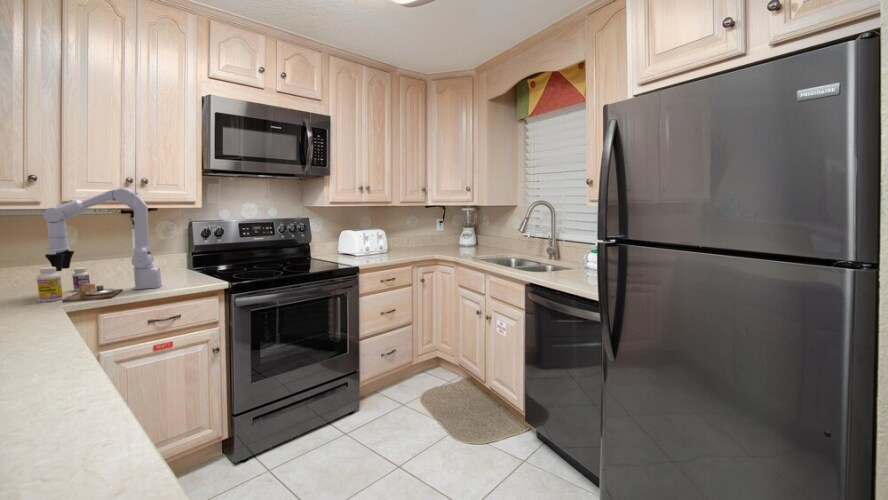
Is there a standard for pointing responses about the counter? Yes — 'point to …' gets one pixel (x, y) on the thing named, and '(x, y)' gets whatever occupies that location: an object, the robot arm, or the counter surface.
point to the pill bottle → (80, 278)
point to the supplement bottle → (49, 285)
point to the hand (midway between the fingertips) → (62, 269)
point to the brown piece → (82, 296)
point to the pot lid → (96, 290)
